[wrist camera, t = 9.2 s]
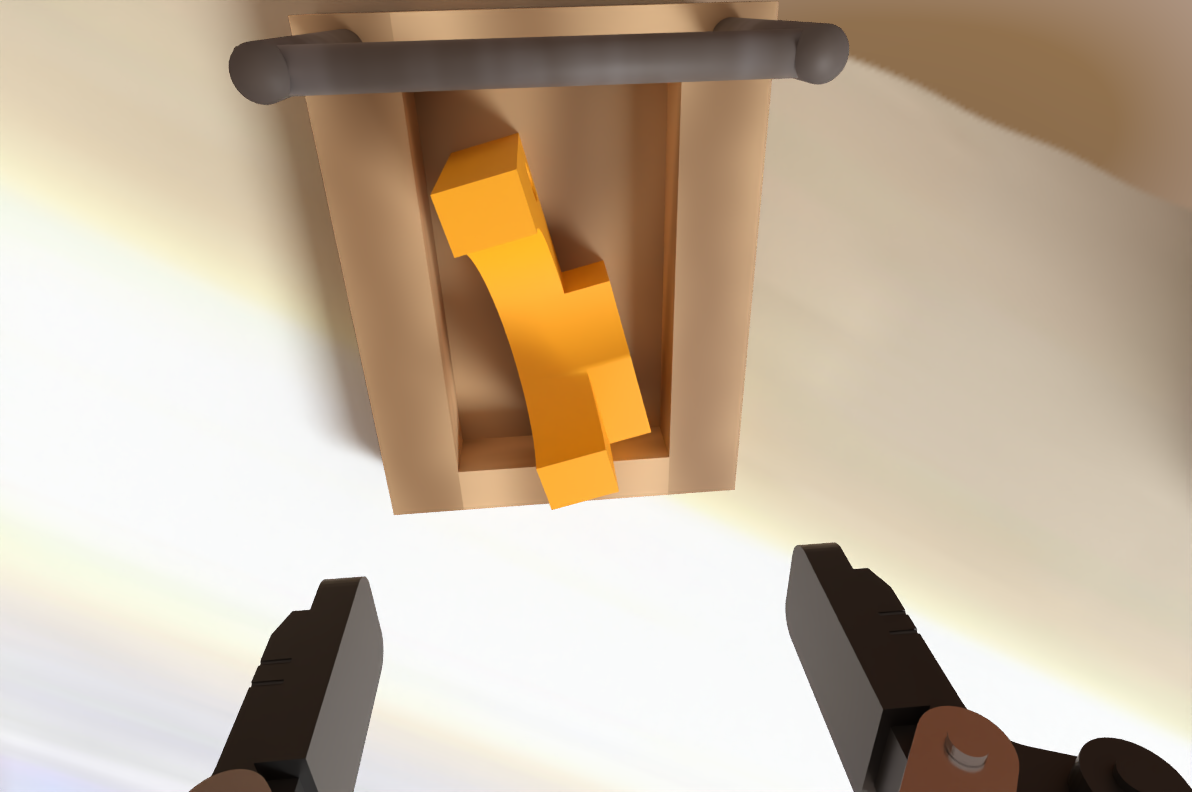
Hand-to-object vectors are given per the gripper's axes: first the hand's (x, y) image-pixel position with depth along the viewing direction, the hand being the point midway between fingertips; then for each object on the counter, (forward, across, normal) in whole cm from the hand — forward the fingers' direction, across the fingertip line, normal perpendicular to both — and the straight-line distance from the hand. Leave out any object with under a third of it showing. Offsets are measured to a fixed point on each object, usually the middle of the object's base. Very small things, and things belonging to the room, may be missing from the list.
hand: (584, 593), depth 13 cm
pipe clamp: (+18, 0, 0) cm, 18 cm away
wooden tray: (+18, 0, 0) cm, 18 cm away
